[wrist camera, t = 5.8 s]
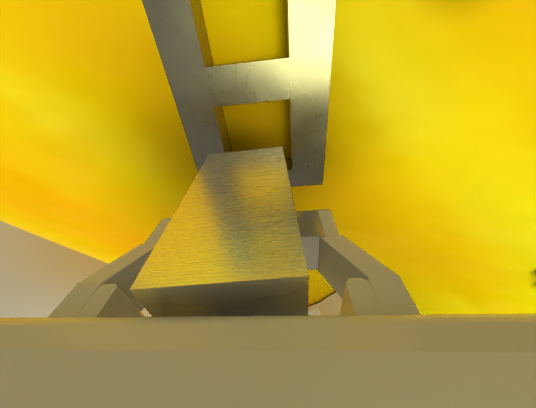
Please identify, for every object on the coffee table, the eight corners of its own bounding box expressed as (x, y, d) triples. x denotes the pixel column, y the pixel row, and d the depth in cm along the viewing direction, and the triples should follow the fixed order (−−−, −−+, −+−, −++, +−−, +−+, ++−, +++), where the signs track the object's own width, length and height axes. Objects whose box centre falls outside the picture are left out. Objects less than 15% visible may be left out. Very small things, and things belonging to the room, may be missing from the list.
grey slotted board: (317, 171, 21) (322, 185, 19) (211, 179, 22) (204, 193, 19) (358, -591, 6) (405, -937, 4) (18, -480, 7) (-97, -720, 5)
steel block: (286, 206, 13) (307, 350, 7) (225, 212, 13) (188, 357, 7) (282, 146, 11) (308, 275, 4) (208, 154, 11) (129, 289, 5)
